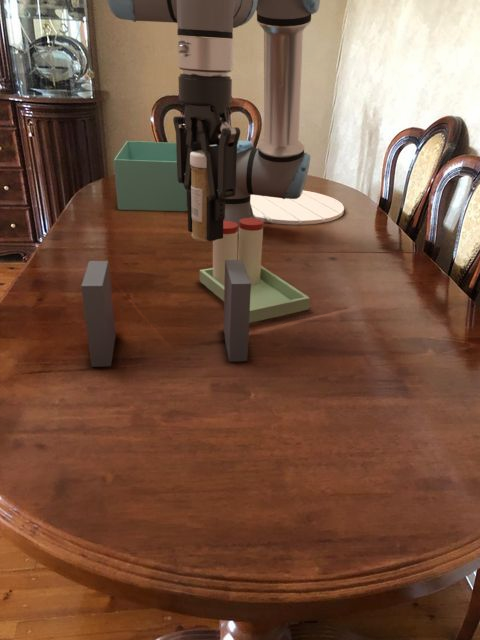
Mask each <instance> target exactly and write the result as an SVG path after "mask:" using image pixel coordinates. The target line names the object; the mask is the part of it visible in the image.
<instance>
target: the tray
mask: <svg viewBox="0 0 480 640" xmlns="http://www.w3.org/2000/svg"><path fill="white" fill-rule="evenodd" d="M199 282H200V283H201V284H203V285H204V286H205V287H206V288H207V289H208V290H209V291H211V292H212V293H213V294H214V295H215V296H217V297H218V298H219V299H221V300H222V301H223V302H224V286H223V285H222V284H220V283H219V282H218V281H217V280H215V279H214V278H213V267H209V268H204V269H199ZM310 299H311V297H309V296H308V295H307V294H305V293H303V292H302V291H301V290H299V289H297V288H296V287H295V286H293V285H291V284H290V283H288V282H287V281H286V280H284V279H282V278H281V277H279V276H278V275H276V274H274V273H273V272H272V271H270V270H268V269H267V268H266V267H264V266H263V265H261V274H260V282H259V283H258V284H255V285H251V294H250V315H249V324H251V323H256V322H261V321H264V320H268V319H269V320H270V319H274V318H278V317H282V316H287V315H290V314H295V313H298V312H304V311H309V310H310Z"/></svg>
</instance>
